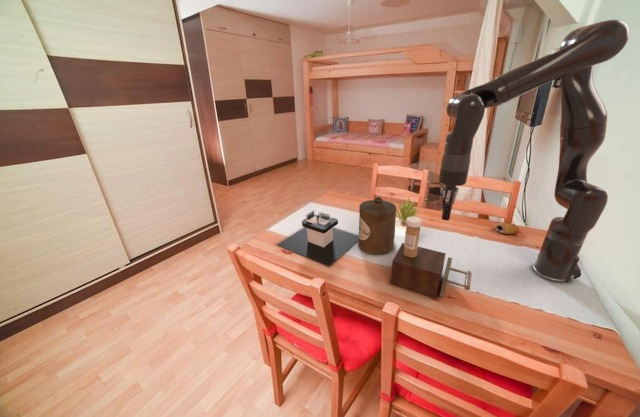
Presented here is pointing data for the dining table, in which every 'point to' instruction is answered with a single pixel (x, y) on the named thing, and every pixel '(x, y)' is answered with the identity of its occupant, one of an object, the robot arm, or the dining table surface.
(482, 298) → the dining table surface
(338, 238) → the capped box on tray
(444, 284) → the drawer
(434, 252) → the cabinet
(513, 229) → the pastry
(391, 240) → the wooden container
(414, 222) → the sprinkles bottle
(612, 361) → the dining table surface
